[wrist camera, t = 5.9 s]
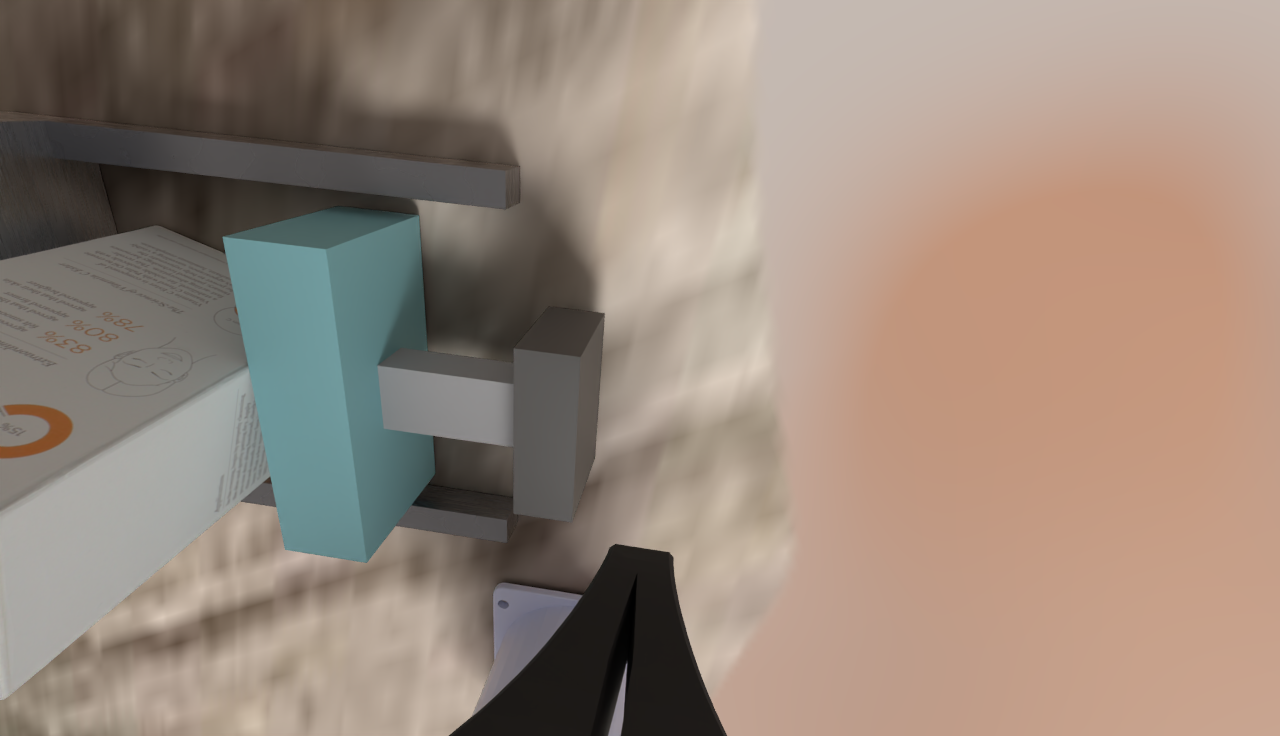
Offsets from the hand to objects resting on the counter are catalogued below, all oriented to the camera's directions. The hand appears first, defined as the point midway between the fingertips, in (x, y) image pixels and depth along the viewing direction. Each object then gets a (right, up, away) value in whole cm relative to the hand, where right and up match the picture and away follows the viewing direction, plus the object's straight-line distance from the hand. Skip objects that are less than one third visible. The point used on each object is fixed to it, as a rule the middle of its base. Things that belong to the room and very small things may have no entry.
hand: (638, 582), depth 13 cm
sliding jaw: (-6, +5, +10) cm, 13 cm away
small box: (-16, +6, +11) cm, 20 cm away
